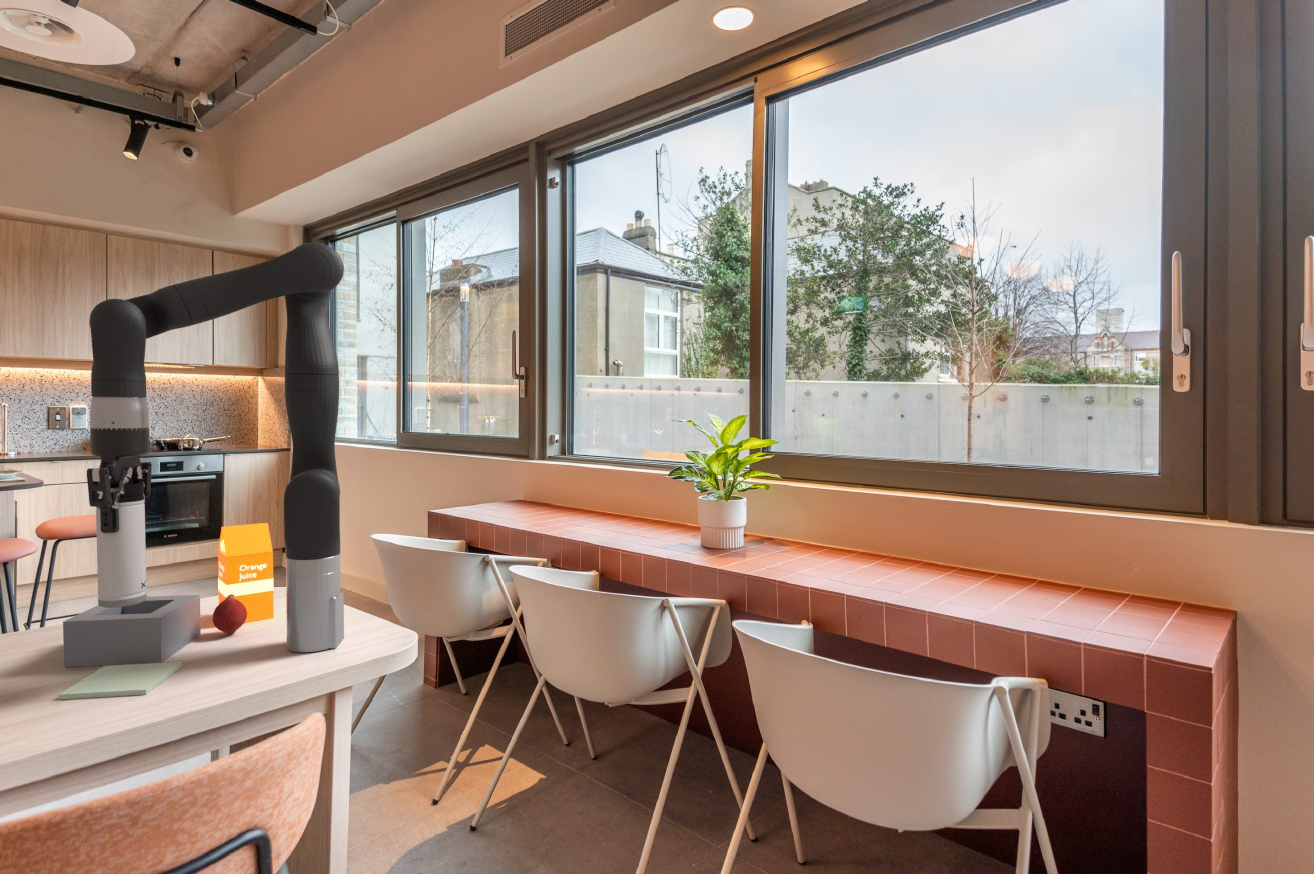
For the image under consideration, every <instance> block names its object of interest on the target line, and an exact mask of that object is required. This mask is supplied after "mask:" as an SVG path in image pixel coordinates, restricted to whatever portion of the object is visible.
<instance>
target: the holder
mask: <svg viewBox="0 0 1314 874" xmlns="http://www.w3.org/2000/svg"><path fill="white" fill-rule="evenodd" d="M62 631H63V668H64V667H66V668H75V667H74V666H79V667H78V668H81V667H80V666H85V667H104V666H111V665H130V664H149V663H164V662H165V661H166V660H167V659H169V658H171V656H173V655H175V654H176V653H177V652H178V651H180V650H182V649H183V648H184V647H185V646H187V645H189V644H190V643H191V642H193V641H194V640H195V639H197V638H198V637H200V636H201V594H189V595H188V594H186V595H182V594H181V595H159V596H156V595H153V596H147V599H146V600H145V601H143V602H141V603H139V604H135V605H131V606H125V607H116V608H104V607H101V606H99V605H98V604H97V605H95V606H94V607H91V608H89V609H87V610H85V611H83V612H81V613H80V612H79V613H78V614H76V615H74V616H72V617H70V618H68V619H66V620H64V621H62Z"/></svg>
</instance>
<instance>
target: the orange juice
mask: <svg viewBox="0 0 1314 874" xmlns="http://www.w3.org/2000/svg"><path fill="white" fill-rule="evenodd" d="M217 567H218V569H217V571H218V572H217V574H218V576H217V583H218V584H217V587H218V589H217V590H218V605H219V604H220V603H221V602H222V601H224V600H225V599H226V597H227V596H228V595H229V594H233V595H234V599H236V600H238V601H240V602H241V603H242V604H243V605H244V606H245V608H246V610H247V619H246V621H245V623H244V624H249V623H254V622H259V621H264V620H269V619H268V618H271V619H274V618H275V616H274V615H275V614H274V613H275V612H274V603H275V602H274V591H275V590H274V551H273V545H272V539H271V535H270V529H269V523H268V522H264V523H250V524H242V525H241V524H240V525H230V526H229V525H227V526H221V531H220V536H219V543H218V550H217Z"/></svg>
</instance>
